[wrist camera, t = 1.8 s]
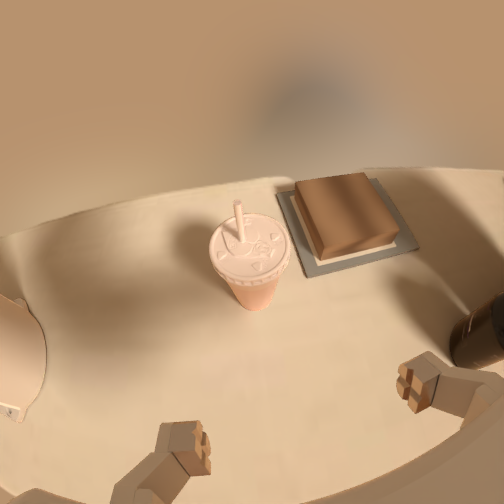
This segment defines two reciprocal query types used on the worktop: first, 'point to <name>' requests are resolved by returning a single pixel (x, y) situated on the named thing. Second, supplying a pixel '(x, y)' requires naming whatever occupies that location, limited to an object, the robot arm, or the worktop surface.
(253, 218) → the smoothie
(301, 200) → the base block
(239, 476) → the worktop surface
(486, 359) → the supplement bottle
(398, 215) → the mat
